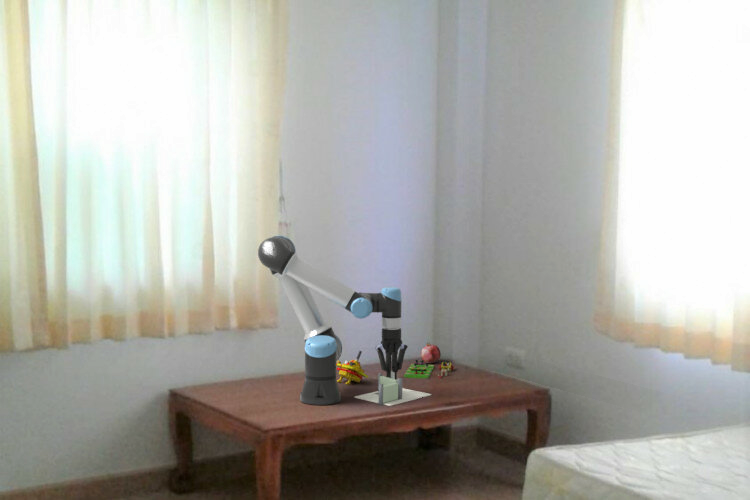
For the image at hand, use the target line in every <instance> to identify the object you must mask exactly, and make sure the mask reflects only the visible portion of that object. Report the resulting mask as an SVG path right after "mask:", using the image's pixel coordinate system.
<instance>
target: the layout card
mask: <svg viewBox="0 0 750 500" xmlns="http://www.w3.org/2000/svg"><path fill="white" fill-rule="evenodd" d="M429 396H432V393H427V392H423V391H418V390H413V389H408V388H404V387H402V399H397V400H393V401H389V402H385V403H383V406H388V407H391V406H396V405H400V404H404V403H407V402H411V401H415V400H417V399H421V398H422V397H423V398H427V397H429ZM354 399H358V400H363V401H367V402H371V403H375V404H379V391H378V390H376V391H373V392H368V393H364V394H359V395H356V396H354Z"/></svg>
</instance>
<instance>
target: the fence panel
mask: <svg viewBox="0 0 750 500" xmlns="http://www.w3.org/2000/svg"><path fill="white" fill-rule="evenodd" d="M393 383H397V379H396V380H395V379H392V378H388V377H387V376H386V375H383V373H381V372H379V373H377V391H379V384H383V386H385V385H389V384H393Z"/></svg>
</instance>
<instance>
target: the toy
mask: <svg viewBox="0 0 750 500" xmlns="http://www.w3.org/2000/svg"><path fill="white" fill-rule="evenodd" d="M362 352H363V351H362V350H359V351H358V354H357V356H356V358H354V359H351V360H345V361H344V363H343V362H342V361H340V360H337V361H336V371H338V375H339V376H340V377H339V379H336V381H337V383H340V384H341V383H342V380H343V378H344V379H347V381H346V382H345V385H347V386H350V383H351V382H353V383H360V381H362V380H363V378H367V379H369V377H370V376H369V375H367V374H366V373H365V370H364V369H363V367H362V365H361V362H360V361H359V359H360V357H361V354H362Z"/></svg>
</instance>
